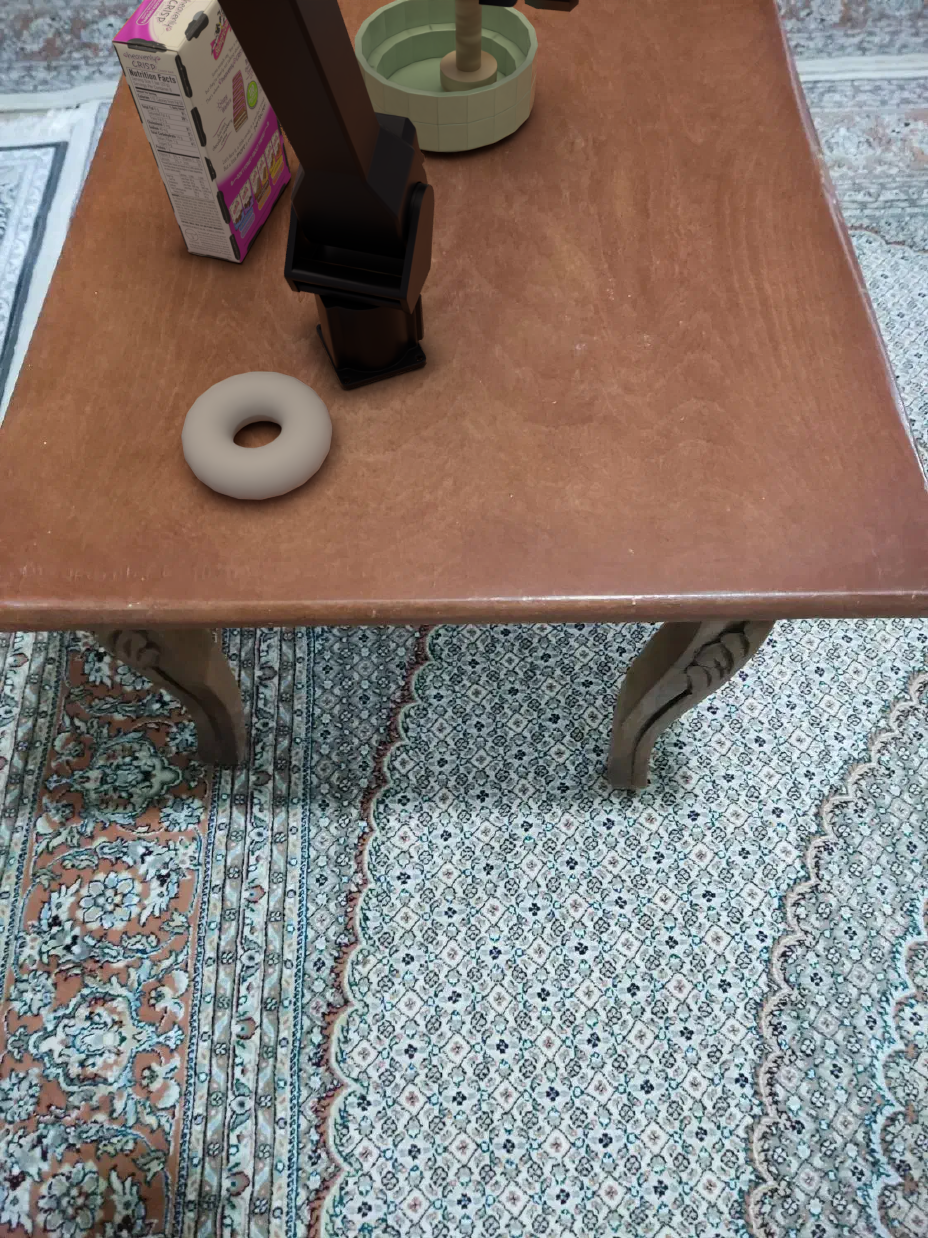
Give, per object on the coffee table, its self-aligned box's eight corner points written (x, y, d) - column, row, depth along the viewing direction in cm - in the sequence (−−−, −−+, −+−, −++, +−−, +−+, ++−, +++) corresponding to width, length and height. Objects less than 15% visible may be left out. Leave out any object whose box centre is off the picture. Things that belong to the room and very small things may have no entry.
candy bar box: (238, 167, 75) (181, -55, 60) (293, 177, 74) (249, -45, 59) (182, 255, 70) (106, 35, 55) (241, 266, 69) (179, 47, 54)
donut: (169, 498, 59) (313, 520, 58) (151, 465, 56) (303, 488, 55) (218, 386, 63) (352, 405, 62) (204, 350, 60) (345, 369, 59)
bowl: (396, 178, 74) (391, 113, 69) (339, 78, 80) (330, 13, 76) (561, 133, 76) (567, 69, 72) (492, 40, 83) (493, -24, 78)
